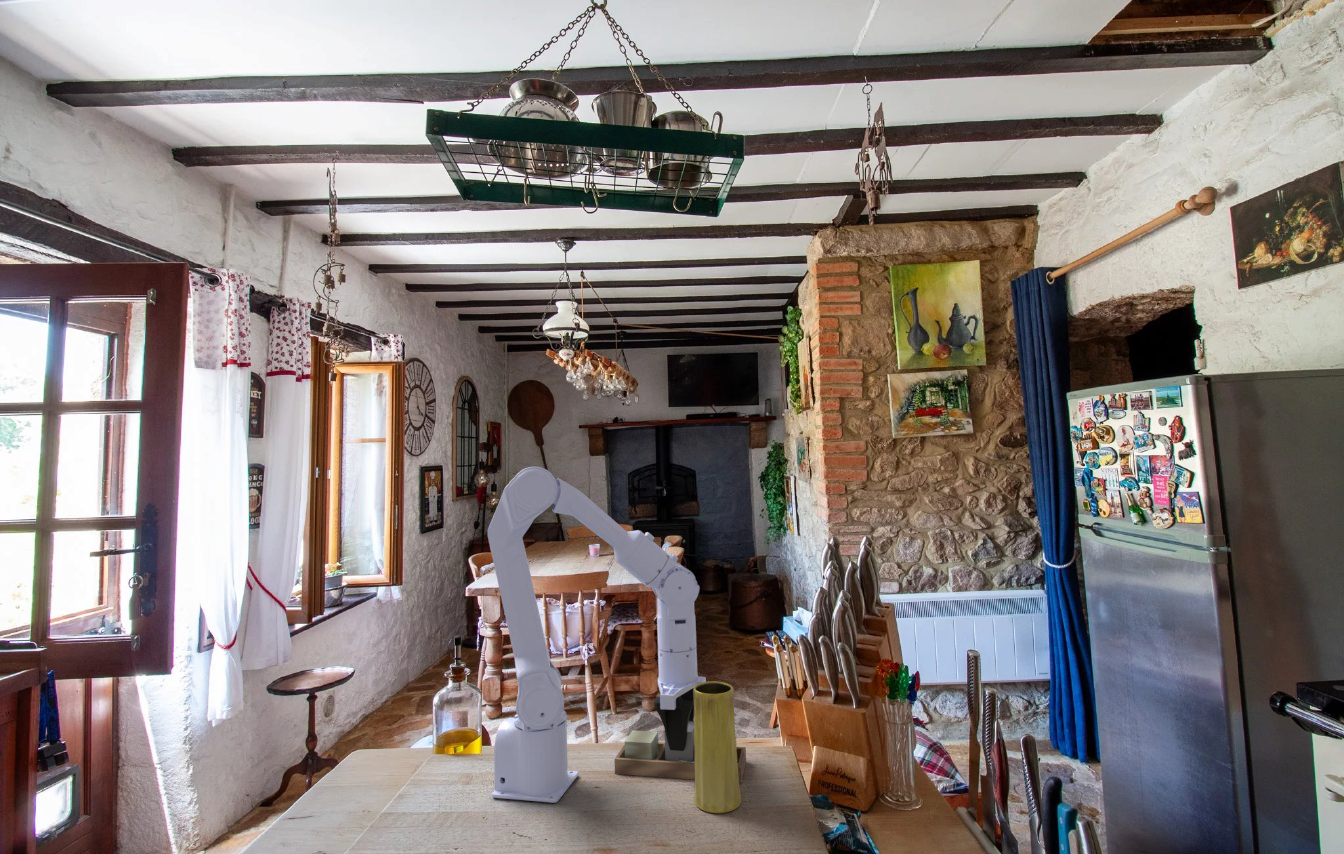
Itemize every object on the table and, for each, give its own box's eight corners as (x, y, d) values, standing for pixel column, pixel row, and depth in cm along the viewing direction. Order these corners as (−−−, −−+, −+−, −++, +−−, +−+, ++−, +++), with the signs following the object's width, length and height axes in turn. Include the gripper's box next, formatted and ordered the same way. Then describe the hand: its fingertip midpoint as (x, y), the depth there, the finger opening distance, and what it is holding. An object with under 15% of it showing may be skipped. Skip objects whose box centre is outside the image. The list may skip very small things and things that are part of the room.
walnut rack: (614, 773, 87) (614, 744, 87) (627, 753, 93) (627, 726, 94) (741, 782, 83) (740, 752, 83) (746, 761, 89) (745, 733, 90)
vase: (739, 815, 75) (734, 696, 76) (690, 812, 76) (686, 694, 77) (743, 791, 81) (738, 680, 82) (698, 788, 82) (694, 679, 83)
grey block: (665, 759, 87) (664, 730, 87) (671, 747, 91) (670, 719, 91) (692, 761, 86) (691, 732, 86) (698, 749, 90) (697, 721, 90)
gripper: (694, 662, 82) (698, 767, 81) (711, 635, 96) (715, 724, 95) (644, 660, 83) (647, 764, 82) (668, 634, 97) (671, 722, 96)
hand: (680, 742), depth 88 cm, fingers closed on grey block, 4 cm apart
